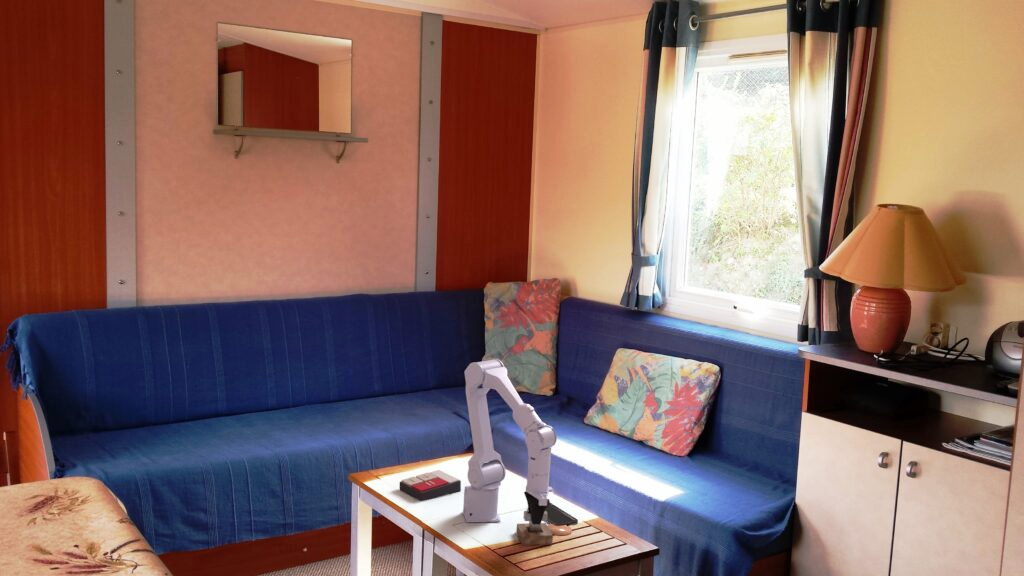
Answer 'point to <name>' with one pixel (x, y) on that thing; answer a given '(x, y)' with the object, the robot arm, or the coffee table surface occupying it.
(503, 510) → the coffee table surface
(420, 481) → the black red flat box
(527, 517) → the t key
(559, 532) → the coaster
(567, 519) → the phone
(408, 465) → the coffee table surface
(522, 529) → the socket block
